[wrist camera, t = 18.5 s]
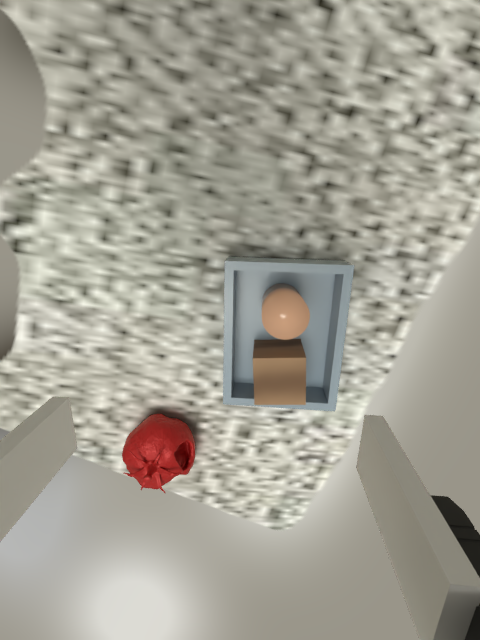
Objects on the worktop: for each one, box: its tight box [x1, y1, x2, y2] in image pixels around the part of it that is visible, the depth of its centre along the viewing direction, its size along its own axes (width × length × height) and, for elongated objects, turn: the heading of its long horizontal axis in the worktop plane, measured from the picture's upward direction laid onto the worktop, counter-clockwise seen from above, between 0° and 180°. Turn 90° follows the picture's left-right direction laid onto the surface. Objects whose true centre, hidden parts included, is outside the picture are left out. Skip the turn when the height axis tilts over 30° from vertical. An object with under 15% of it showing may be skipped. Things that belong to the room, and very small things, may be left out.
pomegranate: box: [122, 414, 195, 493], centre depth 44 cm, size 10×10×9 cm
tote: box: [223, 257, 354, 411], centre depth 40 cm, size 18×14×5 cm
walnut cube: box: [253, 339, 306, 405], centre depth 40 cm, size 6×6×6 cm
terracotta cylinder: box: [262, 283, 310, 340], centre depth 37 cm, size 5×5×7 cm
